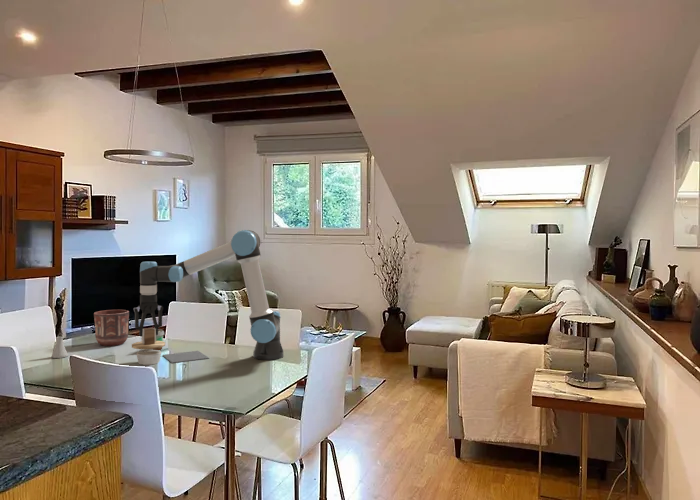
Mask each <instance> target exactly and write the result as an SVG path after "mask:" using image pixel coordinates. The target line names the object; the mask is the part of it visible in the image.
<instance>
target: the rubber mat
mask: <svg viewBox="0 0 700 500" xmlns="http://www.w3.org/2000/svg"><path fill="white" fill-rule="evenodd" d="M163 356H164V358H165V359H166V360H167V361H168V362H170V363H171V364H176V363H177V364H179V363H185V362H195V361H201V360H208V359H210V356H207V355H206V354H204V353H202V352H201V351H200V350H191V351H183V352H175V353H167V354H162V357H163Z"/></svg>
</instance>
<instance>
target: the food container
mask: <svg viewBox="0 0 700 500" xmlns="http://www.w3.org/2000/svg"><path fill="white" fill-rule="evenodd" d="M164 336H165V331H164V329H161V328H158V335H156V341H163V342H164ZM161 349H162V350H163V347H160V348H155V349H146V350H160V351H162V350H161Z"/></svg>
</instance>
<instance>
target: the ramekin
mask: <svg viewBox="0 0 700 500" xmlns="http://www.w3.org/2000/svg"><path fill="white" fill-rule="evenodd" d="M161 354H162V350H160V351H159V350H147V349H143V350H140V351H137V352H136V357H137V363H138V364H139V365H141V364H143V365H142V366H152V364H153V365H157V364H159V362H160V361H161V356H162V355H161Z"/></svg>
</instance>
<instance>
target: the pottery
mask: <svg viewBox="0 0 700 500" xmlns="http://www.w3.org/2000/svg"><path fill="white" fill-rule="evenodd" d="M93 318H94V319H93V320H94V330H95V331H94V332H95V335H94V336H95V340H96V342H97V343H98V344H99V345H100V346H102V347H117V346H122V345H123V344H125V343H126V341H127V340H128V338H129V320H130V319H129V318H130V311H129V310H128V309H127V310H126V309H106V310H99V311H95V312H94V313H93Z"/></svg>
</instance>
